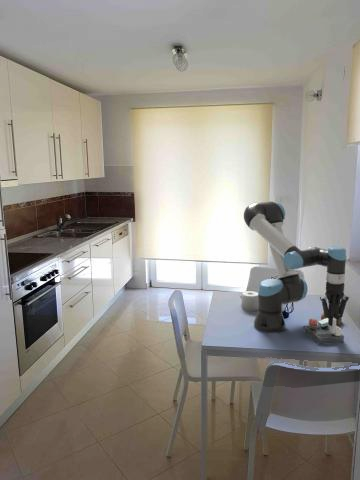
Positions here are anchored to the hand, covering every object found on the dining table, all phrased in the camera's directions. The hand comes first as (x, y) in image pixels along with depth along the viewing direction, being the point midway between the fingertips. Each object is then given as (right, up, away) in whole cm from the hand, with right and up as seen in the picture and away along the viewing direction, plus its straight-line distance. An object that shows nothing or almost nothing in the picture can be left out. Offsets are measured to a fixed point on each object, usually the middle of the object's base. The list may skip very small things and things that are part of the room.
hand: (332, 332), depth 172 cm
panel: (-2, -4, +6) cm, 7 cm away
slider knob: (+2, -1, +1) cm, 2 cm away
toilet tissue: (-29, +3, +46) cm, 55 cm away
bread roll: (+8, -1, +22) cm, 24 cm away
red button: (-6, +1, +9) cm, 11 cm away
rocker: (0, +2, +9) cm, 10 cm away
